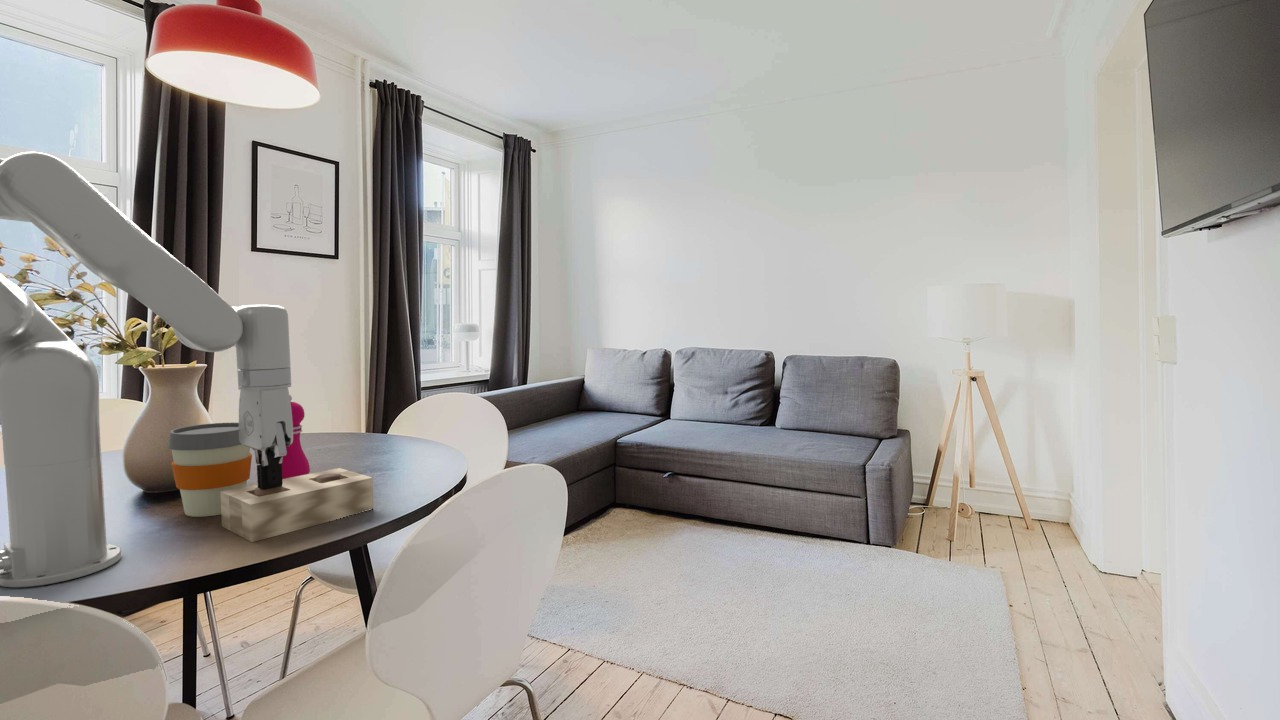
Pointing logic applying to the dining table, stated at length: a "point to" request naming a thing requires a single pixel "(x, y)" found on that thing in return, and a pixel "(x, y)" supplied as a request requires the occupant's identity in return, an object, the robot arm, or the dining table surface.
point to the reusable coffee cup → (208, 465)
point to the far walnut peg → (328, 477)
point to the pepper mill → (295, 447)
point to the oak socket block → (295, 504)
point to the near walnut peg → (267, 491)
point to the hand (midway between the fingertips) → (270, 487)
